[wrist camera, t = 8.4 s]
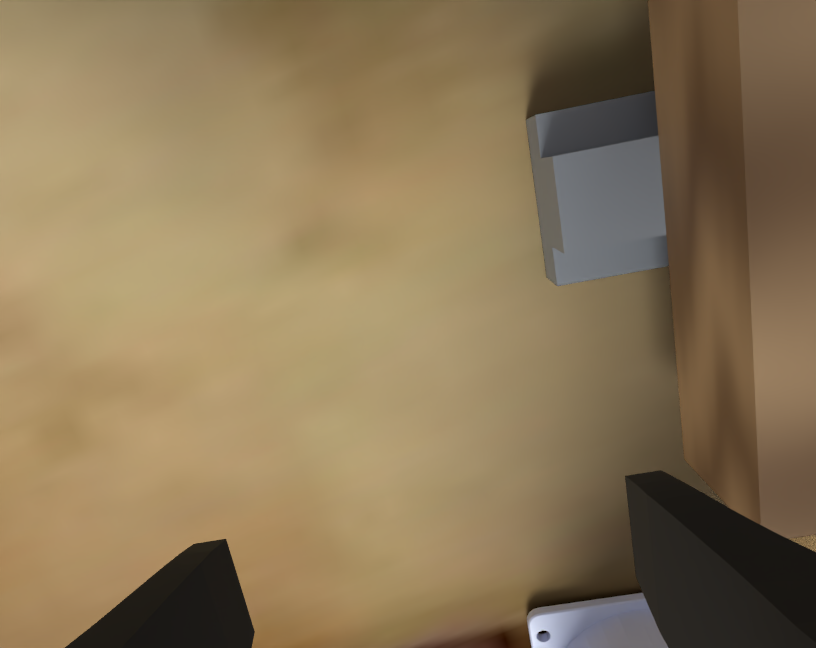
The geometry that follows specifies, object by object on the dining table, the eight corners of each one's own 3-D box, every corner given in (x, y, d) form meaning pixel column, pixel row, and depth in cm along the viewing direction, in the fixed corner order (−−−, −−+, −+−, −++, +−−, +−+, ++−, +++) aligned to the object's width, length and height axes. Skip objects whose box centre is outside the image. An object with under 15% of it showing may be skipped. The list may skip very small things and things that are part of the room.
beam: (804, 440, 17) (919, 519, 13) (684, 459, 17) (761, 542, 13) (790, -198, 13) (949, -358, 9) (635, -161, 13) (724, -302, 9)
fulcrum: (829, 226, 18) (906, 235, 15) (546, 277, 19) (569, 295, 16) (827, 58, 17) (911, 34, 14) (525, 120, 18) (546, 108, 15)
